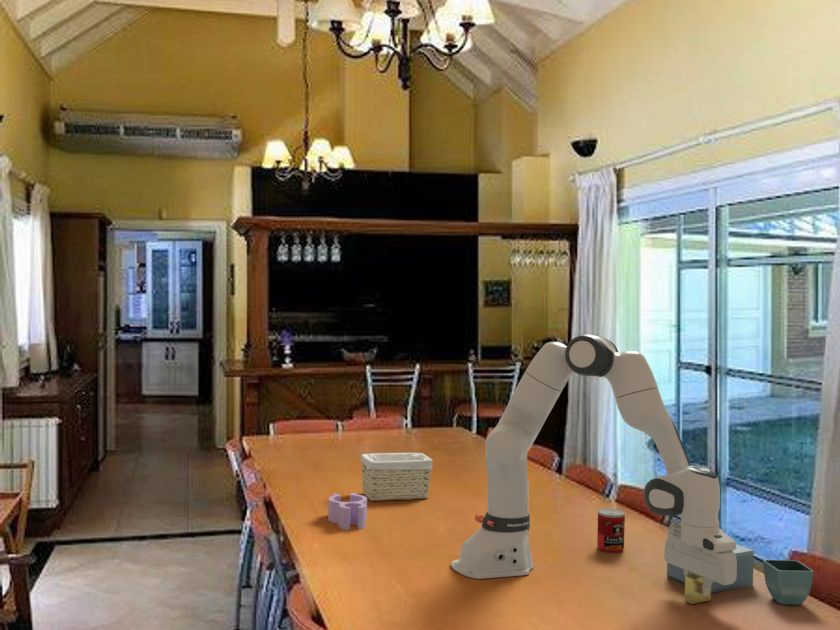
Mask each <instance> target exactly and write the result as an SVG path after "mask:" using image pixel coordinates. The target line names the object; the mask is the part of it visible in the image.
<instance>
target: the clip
mask: <svg viewBox="0 0 840 630" xmlns="http://www.w3.org/2000/svg"><path fill="white" fill-rule="evenodd" d="M341 497H342V496H341V494H338V493H333V494H332V495H331V496H329V498H328V509H327V510H328V511H327V512H328V516H327V517H328V518H327V519H328V521H329V522H330V523H333V524H336V525H337V524H338V527H339V528H340V529H341V530H346V531H349V530H351V525H357V529H358V530H363V529H365V528H366V521H367V520H368V518H367V517H368V498H367V496H366V495H361V494H357V493H356V492H352V493H350V494H349V501H342V500H341V499H342V498H341Z"/></svg>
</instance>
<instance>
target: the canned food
mask: <svg viewBox="0 0 840 630" xmlns="http://www.w3.org/2000/svg"><path fill="white" fill-rule="evenodd" d="M625 516H626V514H625V512H624V511H622V510H620V509H616V508H601V509H599V510H598V512H597V537H596V538H597V539H596V542H597V543H596V544H597V549H598V550H599V551H601V552H603V553H608V554H618V553H622V552H623V551H624V549H625V528H626V525H625V524H626V523H625V522H626V521H625V519H626V518H625Z"/></svg>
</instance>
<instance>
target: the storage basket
mask: <svg viewBox="0 0 840 630" xmlns="http://www.w3.org/2000/svg"><path fill="white" fill-rule="evenodd" d="M360 462H361V463H360V464H361V476H362V478H361V479H362V493H363V495H364V496H365V497H367V499H369V500H370V501H371V502H375V501H378V502H379V501H395V500H399V501H400V500H401V501H402V500H403V501H407V500H409V501H410V500H422V499H428V498H429V489H430V481H431V476H432V475H431V473H432V470H433V459H432V458H430V456H428V455H426V454H424V453H422V452H390V453H389V452H380V453H378V452H377V453H376V452H375V453H362V454H361V455H360Z"/></svg>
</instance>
